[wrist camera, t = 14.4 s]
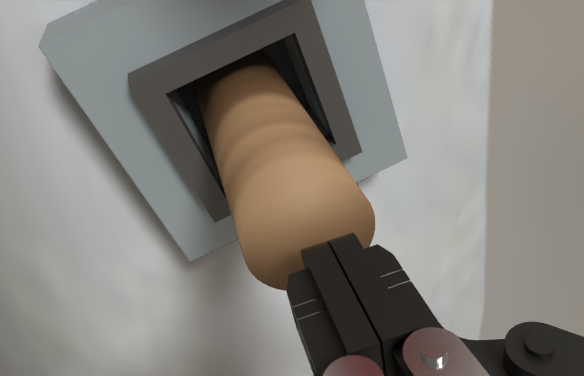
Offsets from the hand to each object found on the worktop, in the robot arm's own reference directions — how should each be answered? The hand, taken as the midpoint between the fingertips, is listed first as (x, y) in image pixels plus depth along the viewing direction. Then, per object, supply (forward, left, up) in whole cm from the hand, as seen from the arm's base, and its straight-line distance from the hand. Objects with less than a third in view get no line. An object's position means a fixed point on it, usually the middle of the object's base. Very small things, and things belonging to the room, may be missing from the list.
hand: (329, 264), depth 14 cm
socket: (0, 0, -13) cm, 13 cm away
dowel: (0, 0, -13) cm, 13 cm away
